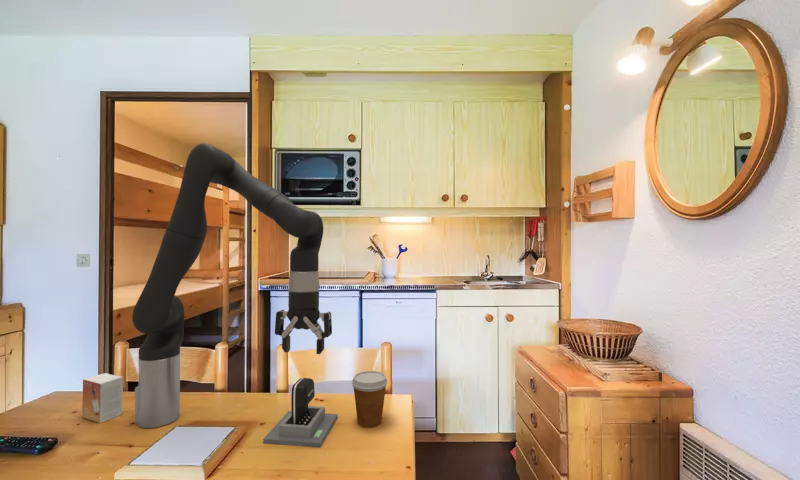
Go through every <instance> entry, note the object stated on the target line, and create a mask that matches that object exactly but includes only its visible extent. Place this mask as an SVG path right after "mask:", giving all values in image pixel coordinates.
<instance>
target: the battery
mask: <svg viewBox="0 0 800 480" xmlns="http://www.w3.org/2000/svg"><path fill="white" fill-rule="evenodd" d="M314 381H315V380H313V378H308V377H301V378H299V379H298V380H296V382H295V383H293V385H292V388H291V396H290V399H291V410H290V411H292V424H293V425H308V424H309V423H310V422H311V420H312V417H311V415H310V413H309V410H308V406H309V405H310V404H309V403H311V401H312V400H313V399H314V398H315V396H316V395H315V382H314Z"/></svg>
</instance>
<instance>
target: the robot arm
mask: <svg viewBox="0 0 800 480" xmlns="http://www.w3.org/2000/svg"><path fill="white" fill-rule="evenodd" d="M182 175H183V176H182V179H181V183H180V188H179V192H178V195H177V198H176V201H175V205H174V206H173V207H174V208H173V210H172V213H171V216H170V218H169V222H168V223H167V226H166V228H165V231H164V234H163V237H162V240H161V244H160V246H159V250H158V252H157V254H156V257H155V260H154V262H153V266H152V269H151V271H150V274H149V277H148V279H147V281H146V283H145V285H144V287H143V289H142V291H141V293H140V296H139V297H138V299H137V301H136V304H135V305H134V308H133V310H132V315H131V317H132V318H131V320H132V324H133V327H134V328H135V329H136V331H138V332H139V333H142V334H144V335H145V334H146V335H147V336H146V338H145V340H144V341H143V343H142V344H141V345H140V347H139V349H138V385H137V386H135V387H134V425H137V426H138V427H140V428H142V429H154V428H159V427H163V426H165V425H166V426H167V425H169V424H171V423H174V422H175V421H176V420H177V419H179V418H180V413H181V409H180V407H181V403H180V402H181V346H182V343H183V342H184V341H183V339H184V334H185V331H184V330H185V306H184V304H183V302H182V300H181V299H180V297H178V296H176V292H177V289H178V287H179V285H180V283H181V281H182V280H183V278H184V277H185V276H186V274H187V273H188V271H189V270H190V269H191V268H192V266H193V265H194V263H195V262H196V260H197V258H198V257H199V255H200V253H201V250H202V248H203V245H204V243H205V239H206V237H207V233H208V222H207V213H206V206H205V201H206V196H207V193H208V189H209V186H210V183H212V184H216V185H220V186H222V187H225V188H227V189H230V190H232V191H234V192H236V193H237V194H239V195H241V196H242V197H243V199H245V201H247V202H248V203H249V204H250V206H252V207H253V208H255V209H256V210H257V211H259V212H260V213H262V214H264V215H265V217H266V216H267V217H268V218H269V219H271V220H273V221H274V223H276V224H277V225H278V226H279V227H280V228H281V229H282V230H283V231H285V233H287V234H289V235H290V236H292V237H295V238H297V243H296V247H294V248H293V249H291V251H290V257H289V260H290V261H289V276H288V301H287V302H288V305H287V306H288V310H287V311H285V310H284V309H281V310H278V311H276V313H275V320H274V321H275V322H274V323H275V325H274V335H276V336H280V337H281V349H282V350H283V352H284V353H288V352H290V351H291V335H290V334H292V332H293V330H295V329H296V330H310V331H311V332H312V333H313V334H314V335H315V336H316V338H317V339H316V355H321V354H322V353H323V351H324V350H325V338H329V337H330V336H331V335H332V334H333V326H332V325H333V324H332V322H333V321H332V312H331V311H327V312H320V308H319V307H320V288H321V287H320V286H321V285H320V275H319V252H320V249H321V246H322V241H323V236H324V235H323V234H324V223H323V219H322V217H321V216H320V215H319V213H317V212H315V211H311V210H305V209H302V208H300V207H299V206H297V205H296V204H294V203H293V201H292V199H290V198H289V197H288V196H287V195H286V194H284V193H282V192H280V190H277V189H276V188H274V187H273V186H271V185H269V184H268V183H267V182H266V183H265V182H264V181H262V180H261V179H259V178H257V177H255V176H254V175H252V174H251V173H250V172H249V171H247V170H246V169H245V167H243V166H242V165H241V164H240V163H239V162H237V160H235V159H234V158H233V156H232V155H230V154H229V153H227V151H224V150H221V149H220V148H217V147H216V146H214V145H212V144H209V143H205V142H202V143H199V144H197V145H195V146H194V147H193V148H192V149H191V151H190V153H189V154H188V156H187V158H186V163H185V167H184V171H183V174H182ZM285 319H288V321H289V323H288V325H287V326H286V327H285ZM320 319H321V321H322V322H323V328H322V325H321V324H320V323H319V322H318V320H320ZM284 327H285V329H284Z"/></svg>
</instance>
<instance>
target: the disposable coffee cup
mask: <svg viewBox="0 0 800 480" xmlns="http://www.w3.org/2000/svg"><path fill="white" fill-rule="evenodd" d="M351 385H352V387H353V392H354V401H355V410H356V419H357V424H358V426H360V427H362V428H367V429H369V428H376V427H378V426H379V425H381V424H382V421H383V420H382V419H383V411H384V405H385V395H386V386H387V385H388V378H387V375H386V374H385V373H384V372H381V371H377V370H365V371H360V372H358V373H355V374H354V376H353V379H351Z"/></svg>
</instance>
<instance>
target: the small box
mask: <svg viewBox="0 0 800 480" xmlns="http://www.w3.org/2000/svg"><path fill="white" fill-rule="evenodd" d="M123 393H124V377H123V376H121V375H120V376H119V375H114V374H111V373H108V372H104V373H101V374H97V375H94V376H90V377H86V378H83V379H82V406H81V407H82V414H81V417H82V419H83V418H84V419H87V420H90V421H92V422H95V423H98V424H102V423H105V422H106V421H109V420H111V419H114V418H117V417H119V416H121V415H123V404H124V401H123V395H124V394H123Z"/></svg>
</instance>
